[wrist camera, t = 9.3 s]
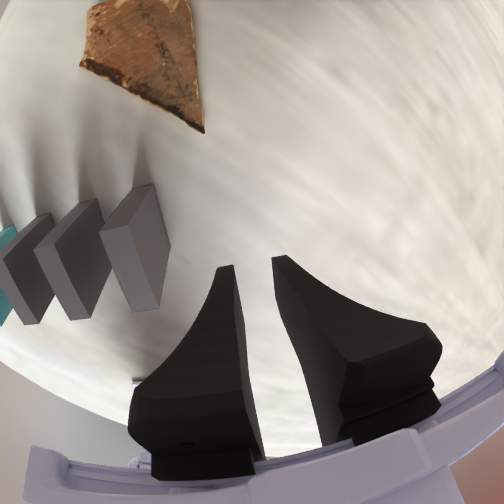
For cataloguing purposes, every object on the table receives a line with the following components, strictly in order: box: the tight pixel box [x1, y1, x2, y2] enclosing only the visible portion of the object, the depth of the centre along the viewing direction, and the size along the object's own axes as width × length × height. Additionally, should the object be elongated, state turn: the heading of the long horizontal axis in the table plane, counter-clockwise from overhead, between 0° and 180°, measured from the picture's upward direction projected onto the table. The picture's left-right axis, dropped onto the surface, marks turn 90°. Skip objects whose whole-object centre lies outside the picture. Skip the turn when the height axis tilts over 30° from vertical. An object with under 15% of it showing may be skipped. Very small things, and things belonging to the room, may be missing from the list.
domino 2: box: [0, 213, 55, 325], centre depth 16 cm, size 2×5×7 cm, turn 7°
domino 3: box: [34, 198, 112, 320], centre depth 16 cm, size 2×5×7 cm, turn 7°
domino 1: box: [0, 225, 18, 327], centre depth 15 cm, size 2×5×7 cm, turn 7°
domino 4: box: [99, 183, 171, 312], centre depth 16 cm, size 2×5×7 cm, turn 7°
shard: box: [79, 0, 205, 134], centre depth 14 cm, size 11×8×2 cm
